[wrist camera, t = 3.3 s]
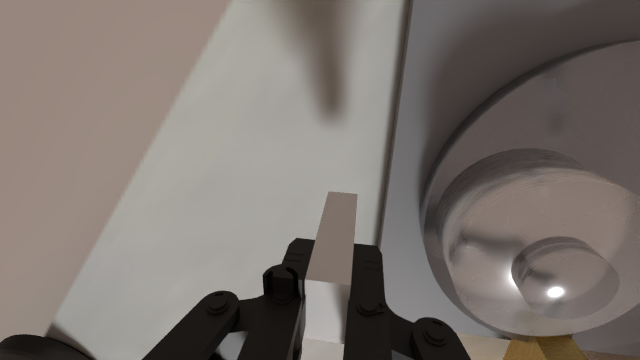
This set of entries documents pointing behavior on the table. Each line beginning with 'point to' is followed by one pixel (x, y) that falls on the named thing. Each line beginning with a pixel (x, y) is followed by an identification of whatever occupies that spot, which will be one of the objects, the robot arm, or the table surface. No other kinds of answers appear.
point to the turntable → (560, 136)
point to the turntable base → (458, 103)
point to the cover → (540, 243)
